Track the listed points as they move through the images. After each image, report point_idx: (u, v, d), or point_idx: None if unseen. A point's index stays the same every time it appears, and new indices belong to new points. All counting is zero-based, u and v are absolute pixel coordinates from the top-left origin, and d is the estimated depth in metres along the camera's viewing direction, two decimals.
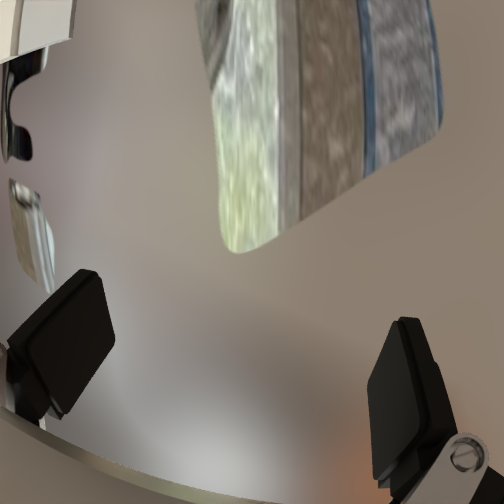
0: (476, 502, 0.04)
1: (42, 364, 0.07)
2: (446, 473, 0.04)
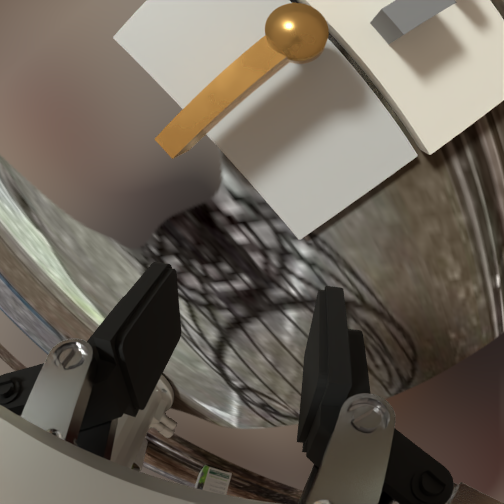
0: None
1: (129, 359, 0.07)
2: (351, 439, 0.05)
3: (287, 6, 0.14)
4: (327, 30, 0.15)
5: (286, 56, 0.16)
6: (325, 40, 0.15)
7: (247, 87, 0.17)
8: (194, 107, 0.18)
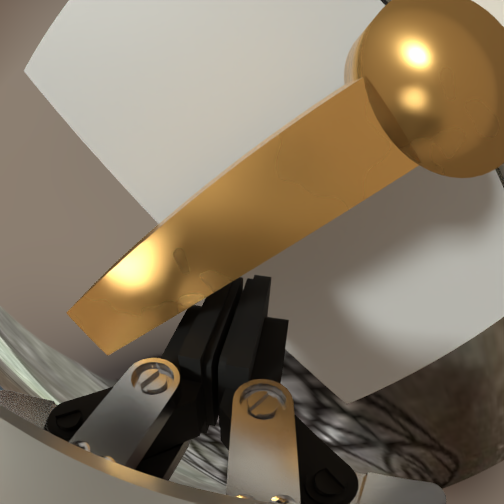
0: None
1: (212, 375, 0.07)
2: (250, 428, 0.05)
3: None
4: None
5: (417, 163, 0.05)
6: None
7: (285, 245, 0.06)
8: (137, 273, 0.07)
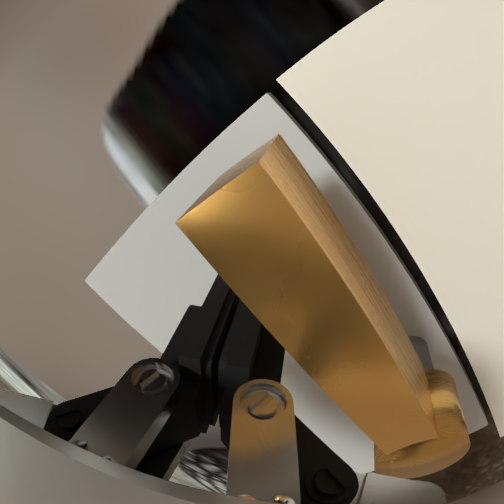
0: None
1: (212, 375, 0.07)
2: (251, 428, 0.05)
3: (463, 452, 0.08)
4: (404, 478, 0.09)
5: None
6: None
7: (353, 418, 0.07)
8: (345, 325, 0.06)
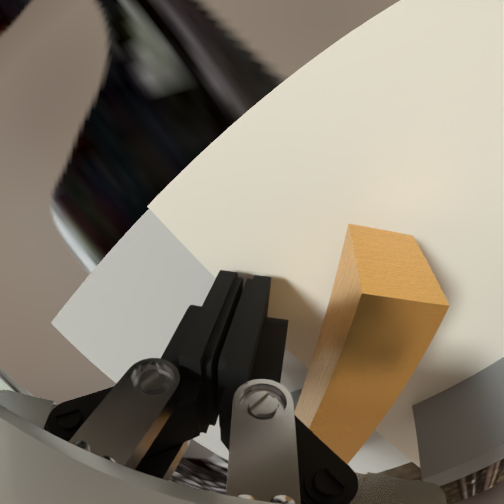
0: None
1: (212, 375, 0.07)
2: (250, 428, 0.05)
3: None
4: None
5: None
6: None
7: None
8: (372, 409, 0.07)
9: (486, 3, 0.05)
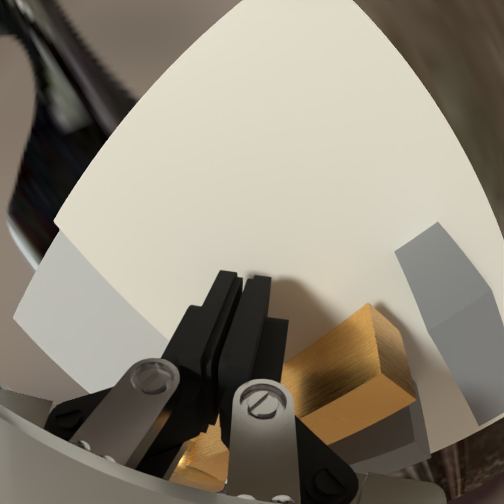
0: None
1: (212, 375, 0.07)
2: (250, 428, 0.05)
3: None
4: None
5: (187, 463, 0.11)
6: None
7: (227, 450, 0.10)
8: None
9: (308, 0, 0.07)
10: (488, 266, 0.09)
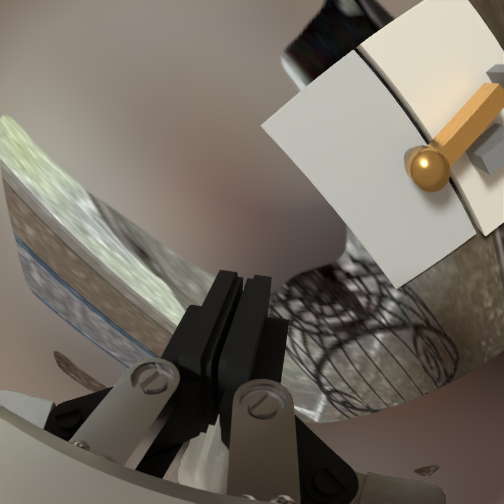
0: None
1: (212, 375, 0.07)
2: (250, 428, 0.05)
3: (437, 189, 0.24)
4: (414, 173, 0.24)
5: (437, 152, 0.23)
6: (415, 166, 0.24)
7: (459, 130, 0.21)
8: (488, 118, 0.20)
9: None
10: None
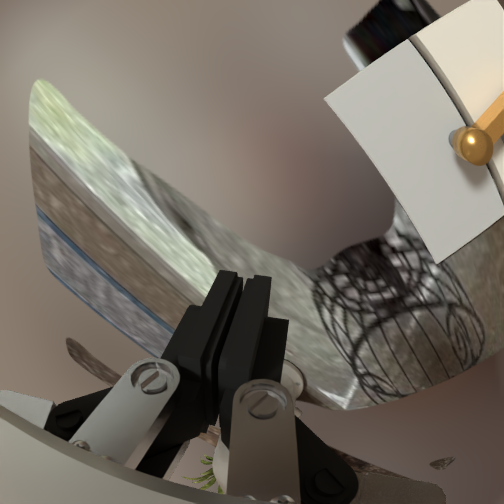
0: None
1: (212, 375, 0.07)
2: (250, 428, 0.05)
3: (483, 163, 0.24)
4: (464, 148, 0.24)
5: (483, 130, 0.23)
6: (465, 141, 0.24)
7: (499, 113, 0.22)
8: None
9: (491, 2, 0.19)
10: None
